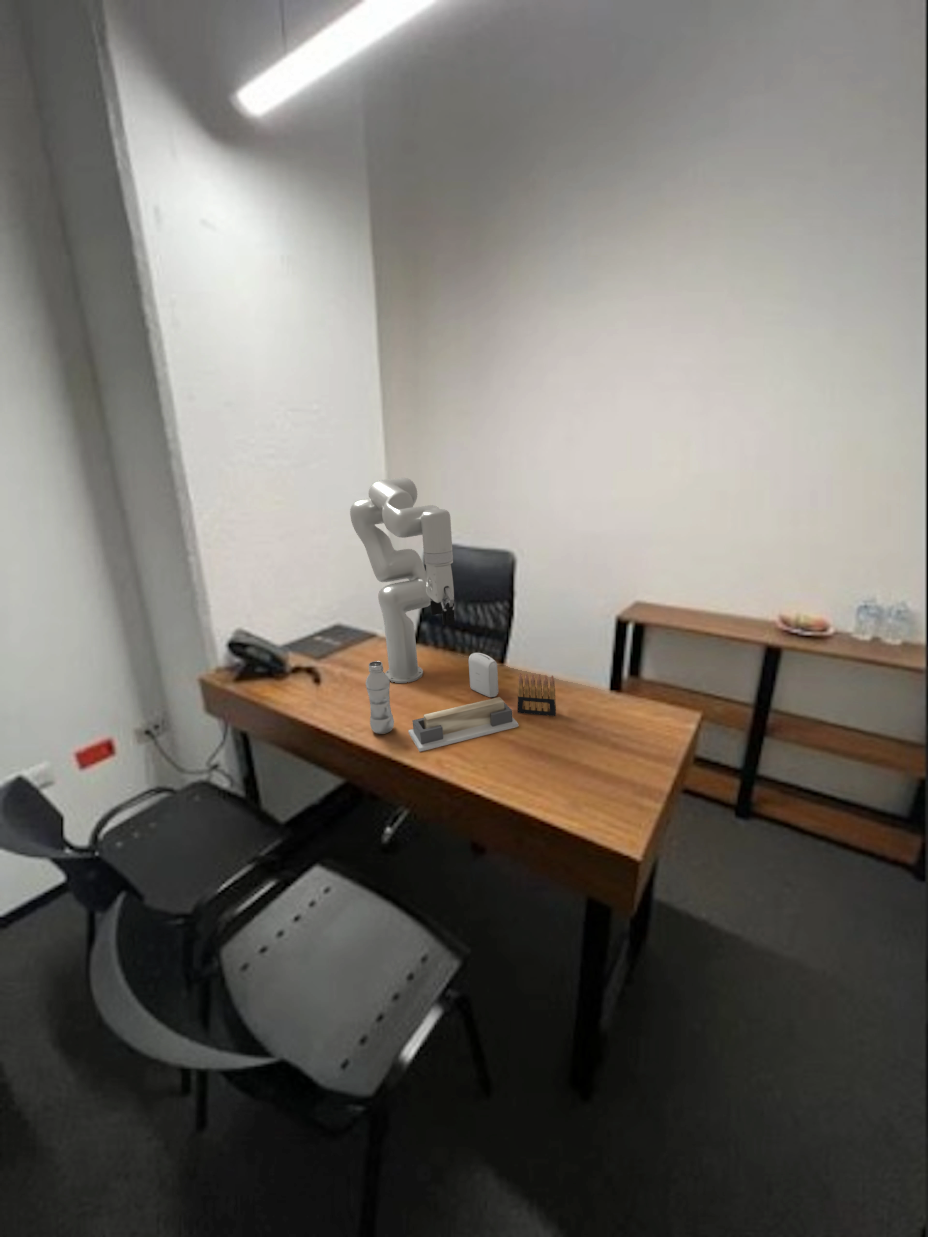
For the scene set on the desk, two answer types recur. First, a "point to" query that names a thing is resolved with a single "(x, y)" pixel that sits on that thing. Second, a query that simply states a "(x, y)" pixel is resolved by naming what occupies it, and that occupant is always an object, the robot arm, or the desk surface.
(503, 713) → the end cap board
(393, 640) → the robot arm
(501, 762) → the desk surface
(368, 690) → the plastic bottle
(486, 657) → the photo printer
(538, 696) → the ammunition clip
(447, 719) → the slat
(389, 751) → the desk surface
